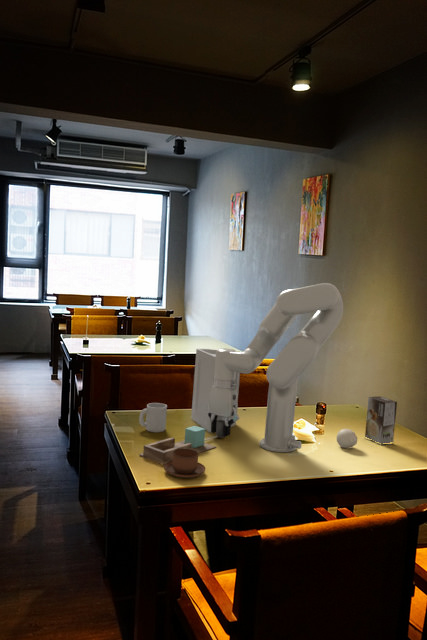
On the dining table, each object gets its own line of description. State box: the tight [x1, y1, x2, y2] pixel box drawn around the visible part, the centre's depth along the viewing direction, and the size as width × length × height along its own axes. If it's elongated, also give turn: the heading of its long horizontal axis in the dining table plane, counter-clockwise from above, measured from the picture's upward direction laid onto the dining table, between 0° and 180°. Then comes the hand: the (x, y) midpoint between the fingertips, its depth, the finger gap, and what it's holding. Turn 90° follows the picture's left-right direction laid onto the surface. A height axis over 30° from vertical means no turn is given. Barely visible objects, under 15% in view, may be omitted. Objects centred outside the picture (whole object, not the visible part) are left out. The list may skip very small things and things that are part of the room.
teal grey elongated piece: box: [183, 420, 225, 448], centre depth 187 cm, size 19×4×6 cm, turn 142°
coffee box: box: [364, 396, 398, 444], centre depth 203 cm, size 9×6×16 cm
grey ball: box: [336, 428, 358, 449], centre depth 192 cm, size 7×7×7 cm
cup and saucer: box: [163, 449, 206, 479], centre depth 157 cm, size 12×12×6 cm
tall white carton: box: [190, 348, 241, 434], centre depth 209 cm, size 19×15×28 cm
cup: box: [138, 402, 168, 433], centre depth 196 cm, size 7×10×9 cm
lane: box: [138, 437, 217, 466], centre depth 175 cm, size 25×11×3 cm, turn 142°
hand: (220, 433), depth 193 cm, fingers open, 4 cm apart
